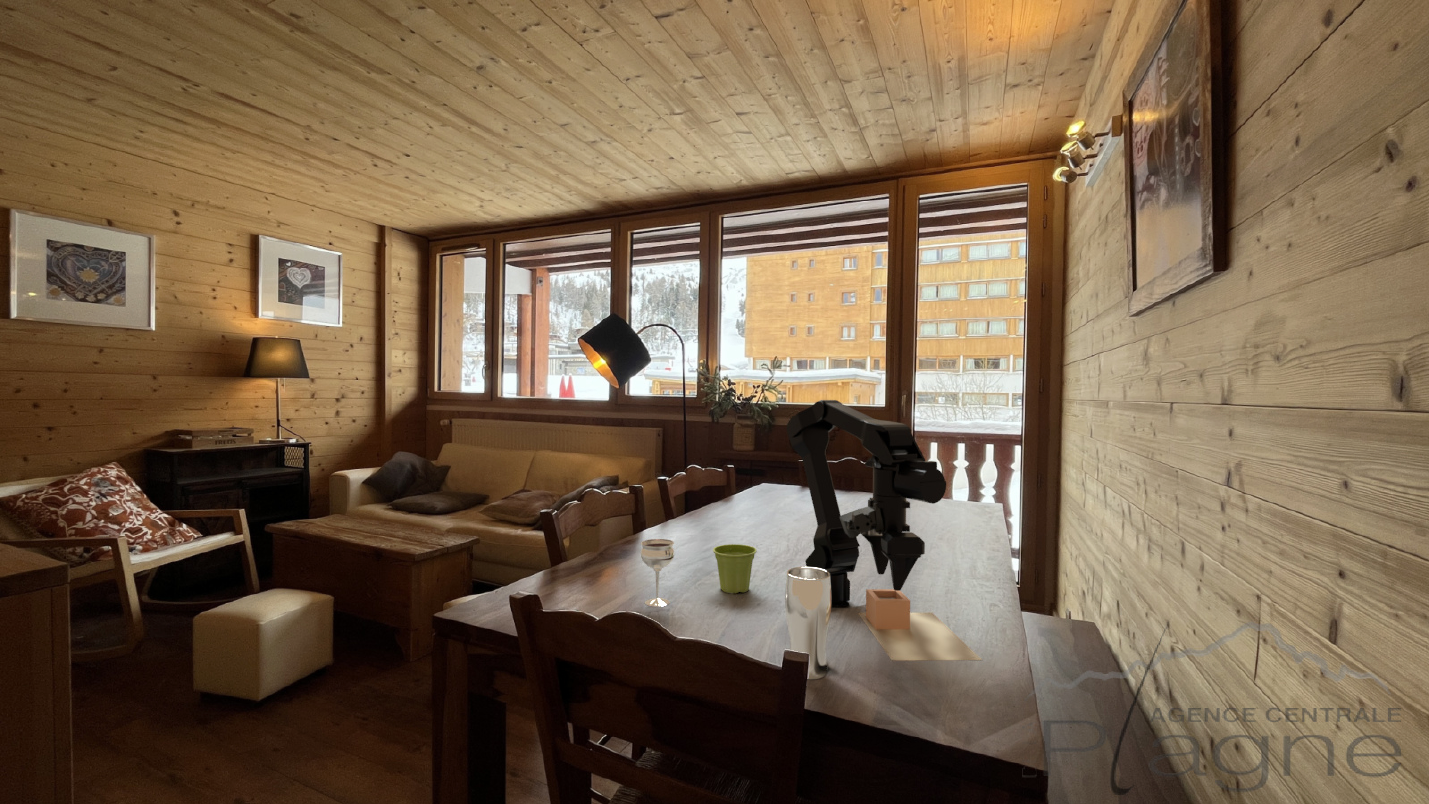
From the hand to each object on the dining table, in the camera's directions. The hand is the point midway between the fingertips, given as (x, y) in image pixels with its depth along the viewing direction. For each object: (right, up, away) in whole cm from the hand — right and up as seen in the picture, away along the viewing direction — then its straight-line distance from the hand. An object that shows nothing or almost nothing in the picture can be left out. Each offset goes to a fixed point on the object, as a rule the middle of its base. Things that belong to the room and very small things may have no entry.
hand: (888, 581), depth 108 cm
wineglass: (-42, -9, +14) cm, 46 cm away
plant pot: (-27, -9, +23) cm, 36 cm away
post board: (+3, -9, -5) cm, 11 cm away
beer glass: (-17, -9, -15) cm, 24 cm away
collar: (0, -7, 0) cm, 7 cm away
